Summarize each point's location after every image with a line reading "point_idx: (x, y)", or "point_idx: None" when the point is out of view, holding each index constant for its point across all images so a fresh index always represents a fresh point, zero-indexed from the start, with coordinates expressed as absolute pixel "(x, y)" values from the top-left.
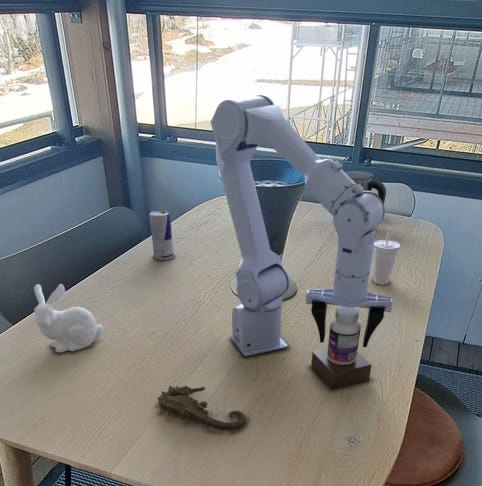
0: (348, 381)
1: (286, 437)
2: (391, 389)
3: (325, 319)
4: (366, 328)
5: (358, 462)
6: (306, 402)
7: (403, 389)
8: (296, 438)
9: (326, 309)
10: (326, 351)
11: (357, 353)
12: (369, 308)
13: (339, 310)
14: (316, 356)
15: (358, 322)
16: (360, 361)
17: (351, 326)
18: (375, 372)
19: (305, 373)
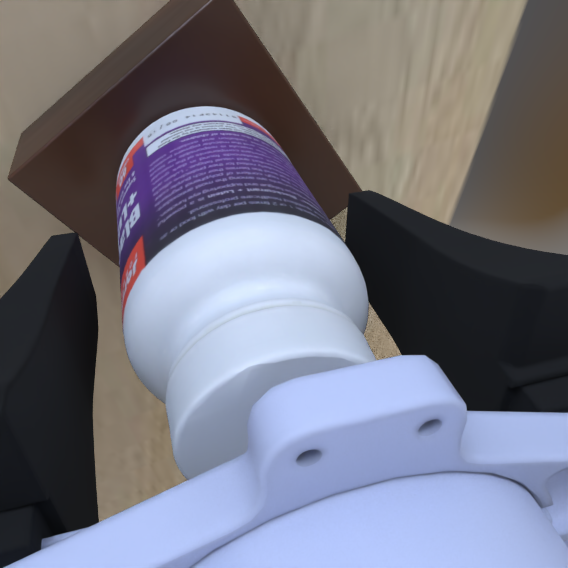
0: None
1: (109, 495)
2: (416, 186)
3: (54, 306)
4: (403, 294)
5: None
6: (108, 366)
7: (461, 170)
8: (137, 487)
9: (44, 379)
10: (95, 145)
11: (290, 107)
12: (498, 392)
13: (212, 459)
14: (53, 214)
15: (357, 322)
16: (309, 185)
17: None
18: (363, 73)
19: (16, 196)
